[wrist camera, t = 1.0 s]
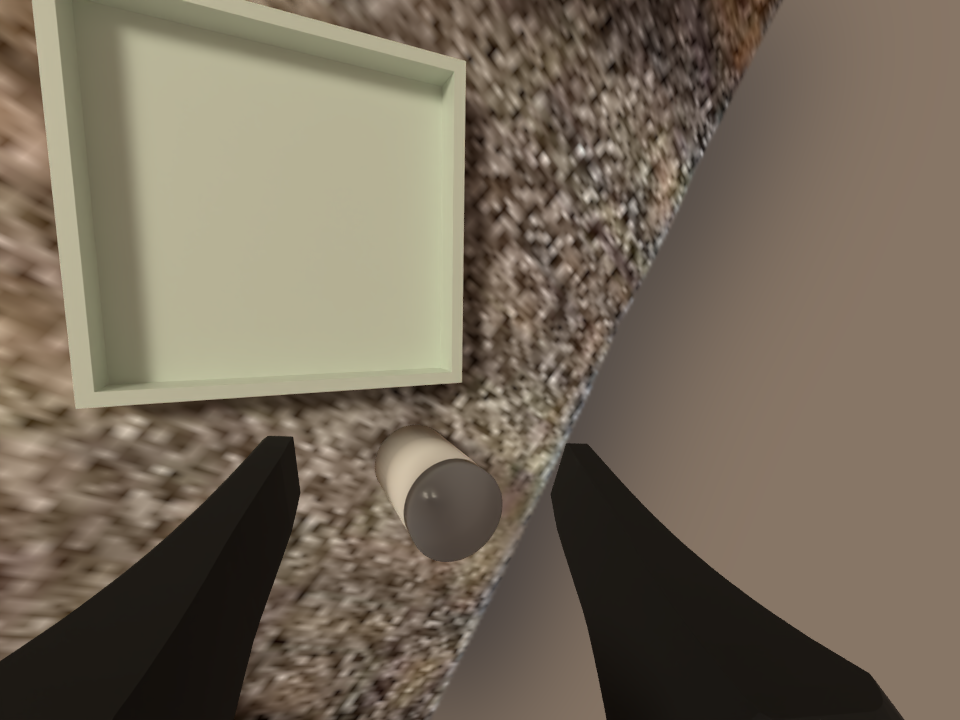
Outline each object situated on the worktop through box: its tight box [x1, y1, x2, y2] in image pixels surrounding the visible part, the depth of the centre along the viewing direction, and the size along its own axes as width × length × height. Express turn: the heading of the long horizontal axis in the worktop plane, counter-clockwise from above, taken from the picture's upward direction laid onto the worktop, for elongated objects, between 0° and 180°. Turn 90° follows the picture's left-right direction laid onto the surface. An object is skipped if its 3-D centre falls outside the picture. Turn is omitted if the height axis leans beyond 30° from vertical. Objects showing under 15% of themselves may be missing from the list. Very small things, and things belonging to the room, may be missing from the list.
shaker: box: [375, 425, 502, 562], centre depth 22 cm, size 4×4×7 cm
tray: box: [32, 0, 466, 409], centre depth 20 cm, size 16×16×2 cm
